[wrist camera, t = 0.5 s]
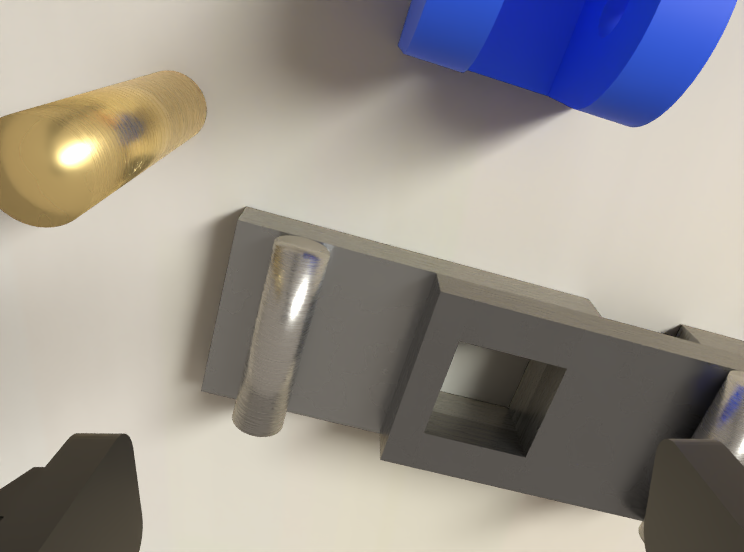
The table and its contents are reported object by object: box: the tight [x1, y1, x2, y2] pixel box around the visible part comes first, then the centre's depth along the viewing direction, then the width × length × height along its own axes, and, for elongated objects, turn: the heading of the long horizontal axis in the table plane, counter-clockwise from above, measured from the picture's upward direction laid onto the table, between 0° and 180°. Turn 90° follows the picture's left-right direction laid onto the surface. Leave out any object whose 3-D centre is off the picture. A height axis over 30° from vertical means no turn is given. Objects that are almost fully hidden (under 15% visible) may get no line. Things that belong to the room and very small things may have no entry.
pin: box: [0, 71, 207, 227], centre depth 22 cm, size 3×3×12 cm
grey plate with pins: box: [201, 207, 744, 542], centre depth 29 cm, size 9×26×6 cm, turn 74°
